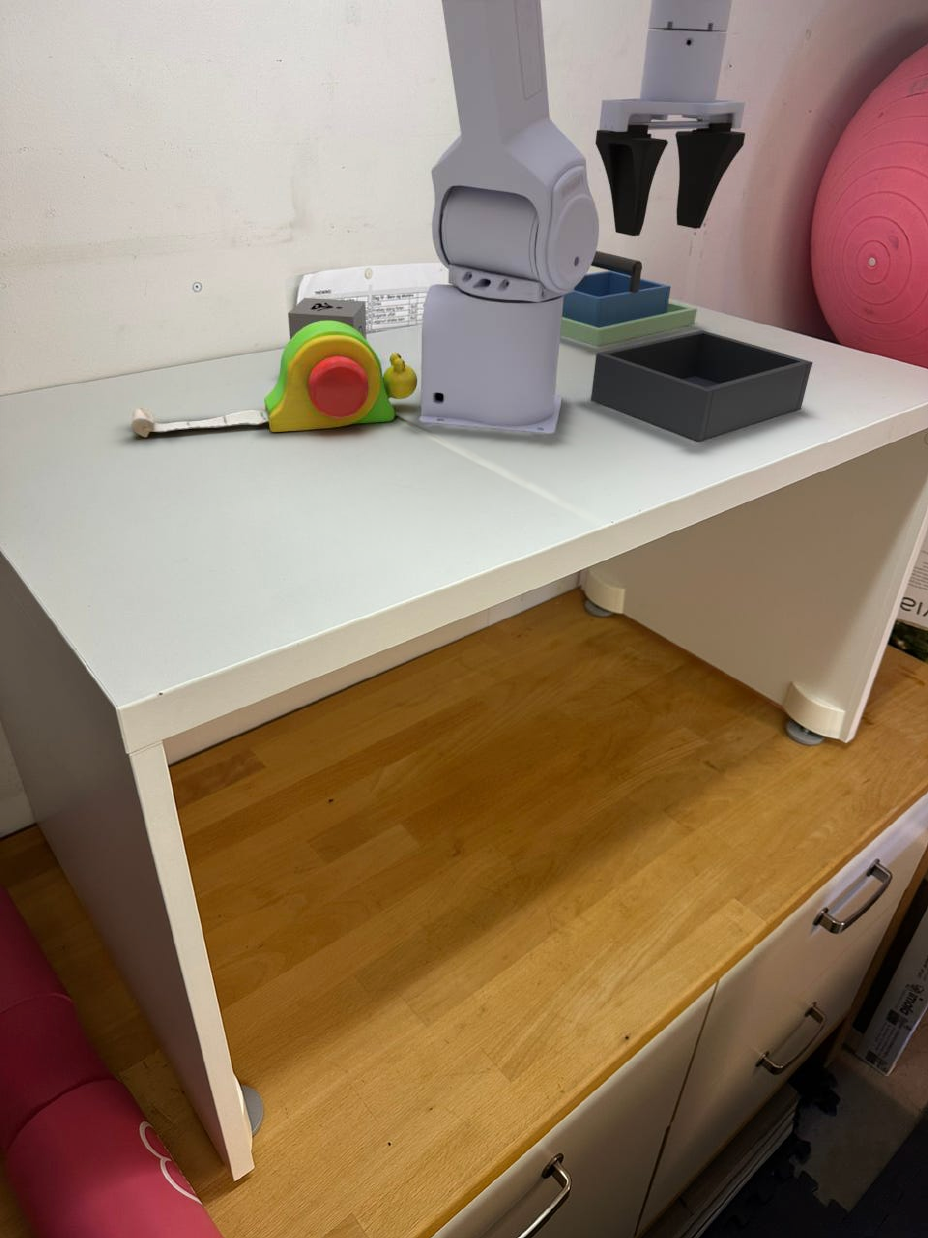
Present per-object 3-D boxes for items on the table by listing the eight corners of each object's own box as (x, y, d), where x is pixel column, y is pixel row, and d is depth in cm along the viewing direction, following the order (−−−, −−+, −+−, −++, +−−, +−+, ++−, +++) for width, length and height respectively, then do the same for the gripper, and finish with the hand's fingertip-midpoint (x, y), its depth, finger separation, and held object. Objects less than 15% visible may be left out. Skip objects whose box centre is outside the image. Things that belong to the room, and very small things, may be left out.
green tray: (596, 351, 79) (599, 329, 78) (504, 321, 87) (505, 301, 86) (693, 328, 87) (697, 308, 86) (601, 302, 95) (603, 284, 94)
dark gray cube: (308, 359, 74) (304, 297, 72) (367, 363, 74) (365, 301, 71) (292, 377, 70) (288, 312, 67) (355, 381, 70) (353, 316, 67)
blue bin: (593, 337, 82) (601, 266, 78) (535, 318, 87) (540, 250, 83) (665, 323, 87) (675, 255, 84) (606, 305, 92) (613, 241, 89)
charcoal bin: (696, 448, 60) (707, 391, 58) (589, 406, 67) (595, 352, 65) (799, 414, 67) (813, 361, 65) (693, 378, 74) (701, 329, 71)
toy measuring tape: (427, 429, 62) (429, 333, 58) (133, 451, 57) (115, 348, 53) (406, 399, 67) (406, 309, 63) (134, 416, 62) (117, 320, 58)
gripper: (664, 27, 59) (635, 246, 66) (791, 35, 67) (752, 230, 74) (588, 26, 63) (569, 231, 71) (715, 34, 71) (686, 218, 79)
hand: (658, 230), depth 73 cm, fingers open, 7 cm apart
